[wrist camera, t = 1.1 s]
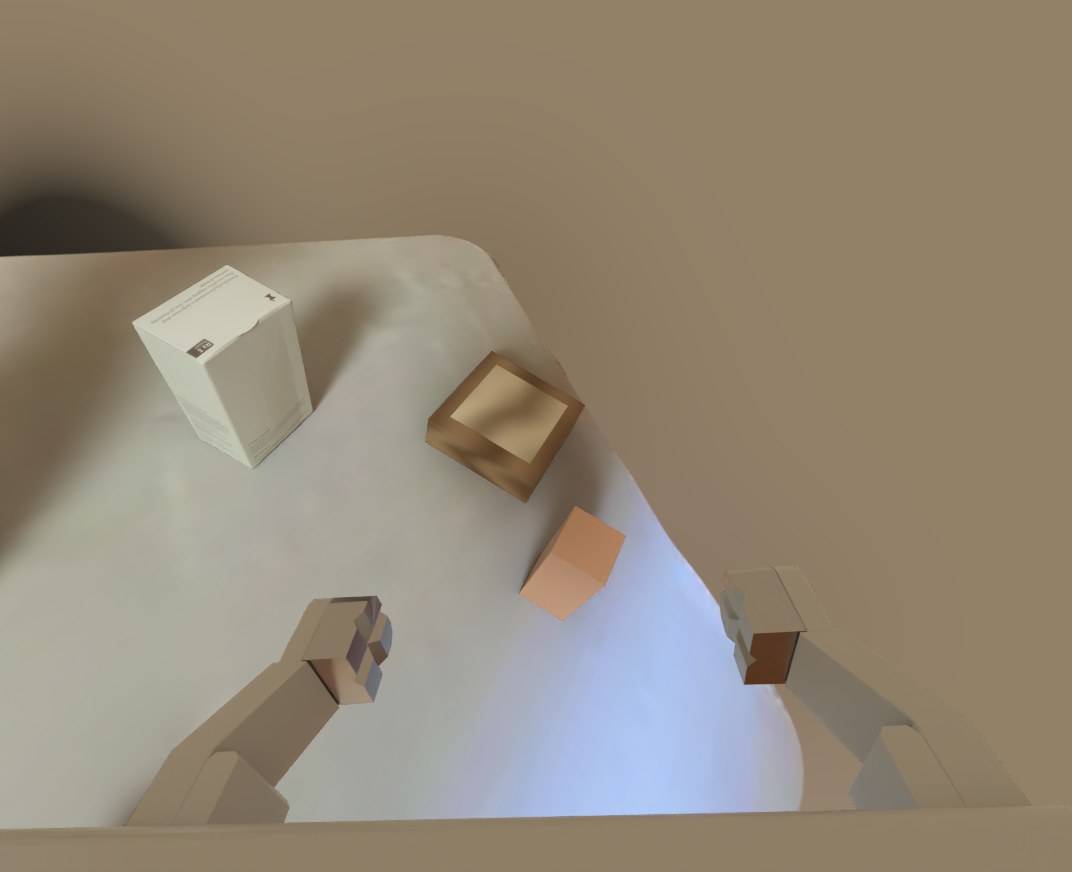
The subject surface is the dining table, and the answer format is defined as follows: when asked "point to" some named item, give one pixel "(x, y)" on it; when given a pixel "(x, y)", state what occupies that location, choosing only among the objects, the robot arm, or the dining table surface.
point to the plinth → (504, 425)
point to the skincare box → (231, 362)
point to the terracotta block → (573, 564)
